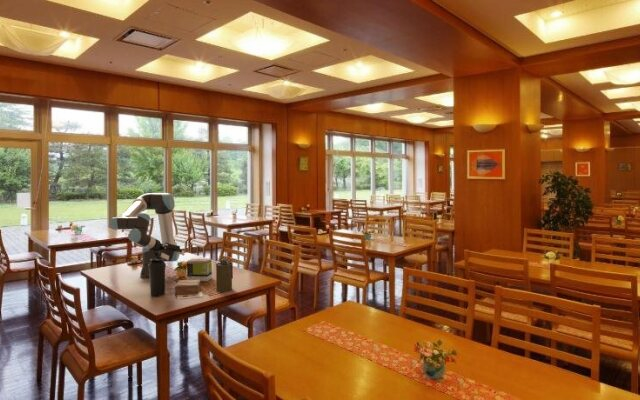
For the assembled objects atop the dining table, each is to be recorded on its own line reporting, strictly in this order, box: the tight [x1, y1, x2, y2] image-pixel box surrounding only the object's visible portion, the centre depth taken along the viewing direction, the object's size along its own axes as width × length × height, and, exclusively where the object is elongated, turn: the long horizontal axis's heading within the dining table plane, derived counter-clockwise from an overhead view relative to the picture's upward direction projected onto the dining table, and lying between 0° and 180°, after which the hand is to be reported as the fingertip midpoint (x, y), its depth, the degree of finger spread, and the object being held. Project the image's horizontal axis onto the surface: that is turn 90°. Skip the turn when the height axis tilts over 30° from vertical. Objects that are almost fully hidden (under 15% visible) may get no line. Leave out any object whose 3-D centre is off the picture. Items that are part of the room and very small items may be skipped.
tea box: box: [186, 258, 213, 282], centre depth 286 cm, size 15×10×15 cm
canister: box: [215, 258, 234, 293], centre depth 262 cm, size 11×10×20 cm
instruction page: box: [176, 291, 203, 300], centre depth 250 cm, size 10×15×1 cm, turn 109°
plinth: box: [174, 279, 202, 297], centre depth 257 cm, size 14×14×6 cm
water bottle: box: [148, 259, 167, 298], centre depth 250 cm, size 10×10×23 cm
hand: (176, 255), depth 263 cm, fingers open, 13 cm apart
